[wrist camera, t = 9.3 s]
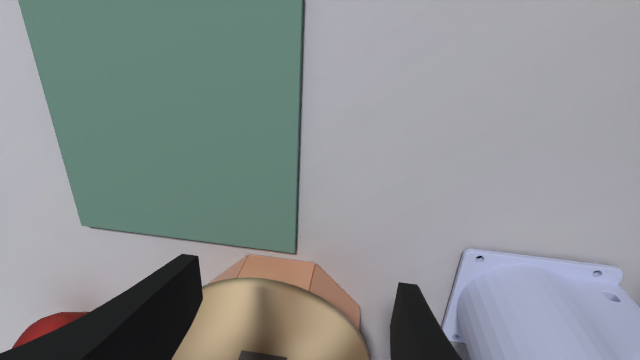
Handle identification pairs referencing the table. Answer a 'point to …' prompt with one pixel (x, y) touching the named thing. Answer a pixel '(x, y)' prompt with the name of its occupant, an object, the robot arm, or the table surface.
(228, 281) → the lid
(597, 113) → the table surface
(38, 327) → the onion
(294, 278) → the bowl
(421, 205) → the table surface
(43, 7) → the mat
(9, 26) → the table surface
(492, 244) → the table surface
